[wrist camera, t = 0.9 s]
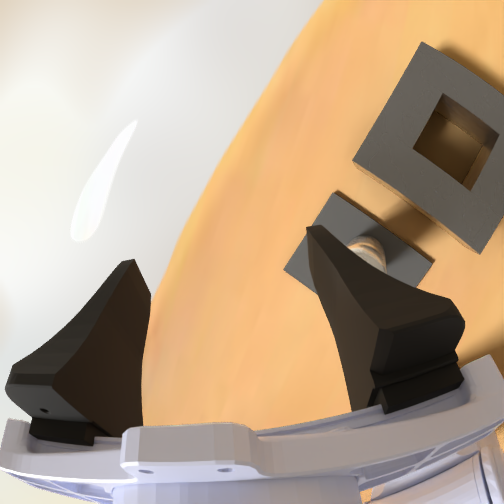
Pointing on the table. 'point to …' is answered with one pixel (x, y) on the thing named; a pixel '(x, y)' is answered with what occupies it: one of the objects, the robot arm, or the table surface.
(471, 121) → the hole block
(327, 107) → the table surface
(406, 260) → the rubber mat
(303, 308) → the table surface
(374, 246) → the steel pin
